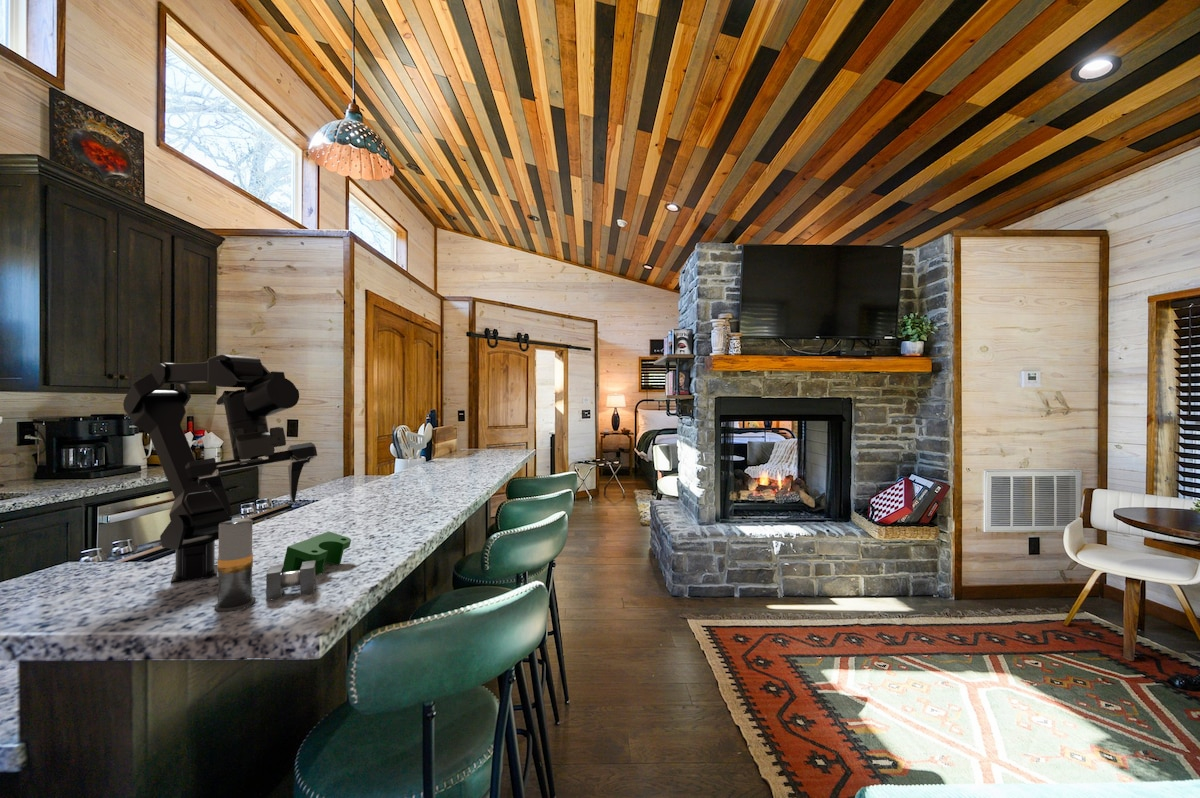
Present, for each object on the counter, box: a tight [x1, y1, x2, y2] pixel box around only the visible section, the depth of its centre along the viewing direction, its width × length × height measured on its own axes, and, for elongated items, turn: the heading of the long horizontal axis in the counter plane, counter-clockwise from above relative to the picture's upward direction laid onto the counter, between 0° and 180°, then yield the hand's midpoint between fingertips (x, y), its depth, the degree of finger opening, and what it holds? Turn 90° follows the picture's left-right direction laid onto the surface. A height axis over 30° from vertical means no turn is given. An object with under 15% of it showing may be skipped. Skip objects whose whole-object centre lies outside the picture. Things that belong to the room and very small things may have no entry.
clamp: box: [283, 530, 352, 575], centre depth 97 cm, size 12×6×9 cm, turn 166°
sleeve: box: [217, 518, 254, 608], centre depth 79 cm, size 5×5×13 cm
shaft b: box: [265, 560, 317, 601], centre depth 84 cm, size 7×4×4 cm, turn 117°
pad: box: [213, 596, 257, 613], centre depth 79 cm, size 5×5×1 cm
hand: (263, 509), depth 86 cm, fingers open, 9 cm apart
